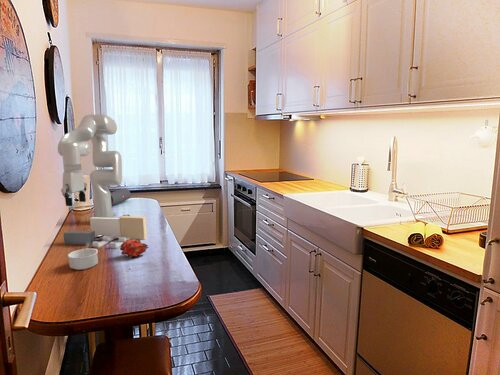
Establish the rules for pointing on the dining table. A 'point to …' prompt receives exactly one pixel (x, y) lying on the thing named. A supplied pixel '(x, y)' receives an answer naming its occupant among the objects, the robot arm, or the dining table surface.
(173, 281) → the dining table surface
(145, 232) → the white rack
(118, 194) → the bluetooth speaker
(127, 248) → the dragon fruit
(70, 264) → the saucepan
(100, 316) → the dining table surface
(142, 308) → the dining table surface
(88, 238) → the grey metal block
